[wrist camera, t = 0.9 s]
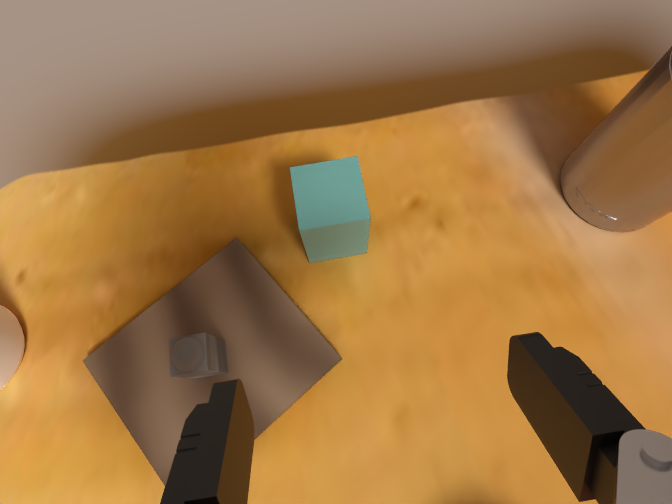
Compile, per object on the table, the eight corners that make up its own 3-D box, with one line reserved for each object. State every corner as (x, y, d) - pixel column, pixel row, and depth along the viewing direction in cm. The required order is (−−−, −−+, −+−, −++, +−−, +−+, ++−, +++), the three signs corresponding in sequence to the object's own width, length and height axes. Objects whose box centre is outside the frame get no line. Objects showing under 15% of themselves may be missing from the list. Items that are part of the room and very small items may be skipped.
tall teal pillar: (356, 201, 39) (357, 156, 32) (366, 253, 38) (370, 218, 30) (301, 210, 39) (289, 167, 31) (309, 262, 37) (299, 230, 30)
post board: (240, 241, 38) (216, 209, 31) (342, 359, 35) (339, 351, 28) (91, 361, 35) (28, 354, 28) (185, 503, 32) (139, 534, 25)
